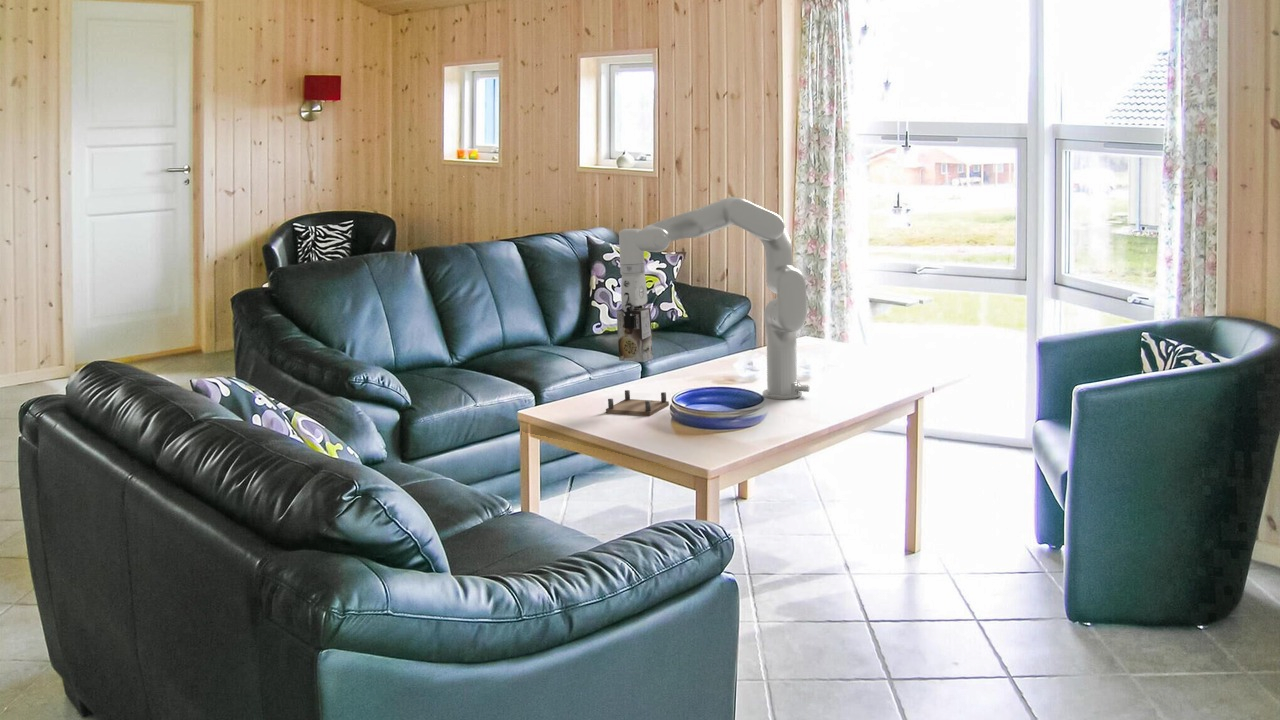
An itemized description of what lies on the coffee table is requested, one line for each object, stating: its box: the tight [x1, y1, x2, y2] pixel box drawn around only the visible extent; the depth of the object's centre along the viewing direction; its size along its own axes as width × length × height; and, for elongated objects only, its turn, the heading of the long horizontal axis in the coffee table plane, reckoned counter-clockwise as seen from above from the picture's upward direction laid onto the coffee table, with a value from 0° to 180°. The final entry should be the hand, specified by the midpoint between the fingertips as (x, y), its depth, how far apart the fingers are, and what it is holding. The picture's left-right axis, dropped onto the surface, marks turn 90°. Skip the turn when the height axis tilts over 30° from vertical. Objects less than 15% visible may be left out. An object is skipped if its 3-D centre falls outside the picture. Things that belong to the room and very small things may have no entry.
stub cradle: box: [605, 389, 670, 417], centre depth 379 cm, size 15×15×4 cm
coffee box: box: [616, 307, 654, 363], centre depth 375 cm, size 9×6×16 cm
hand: (634, 325), depth 374 cm, fingers closed on coffee box, 6 cm apart
